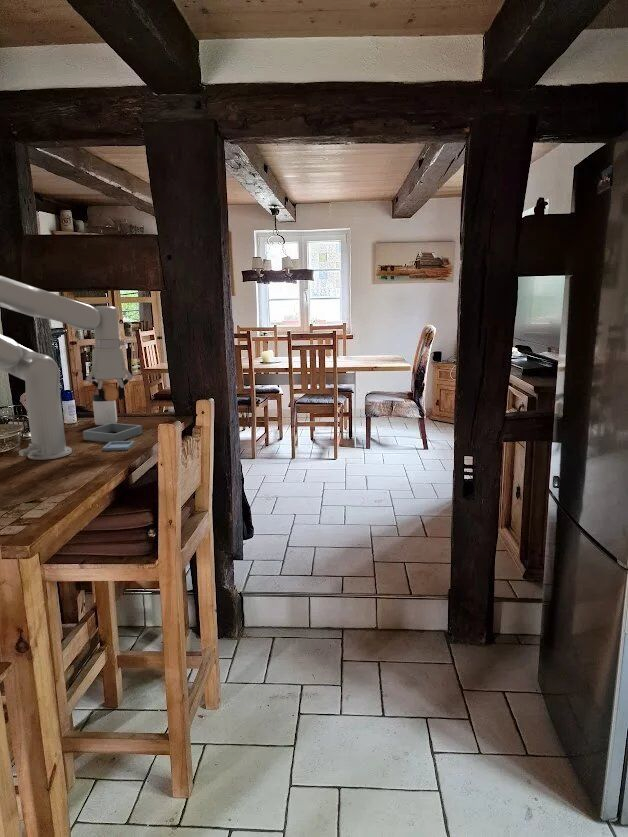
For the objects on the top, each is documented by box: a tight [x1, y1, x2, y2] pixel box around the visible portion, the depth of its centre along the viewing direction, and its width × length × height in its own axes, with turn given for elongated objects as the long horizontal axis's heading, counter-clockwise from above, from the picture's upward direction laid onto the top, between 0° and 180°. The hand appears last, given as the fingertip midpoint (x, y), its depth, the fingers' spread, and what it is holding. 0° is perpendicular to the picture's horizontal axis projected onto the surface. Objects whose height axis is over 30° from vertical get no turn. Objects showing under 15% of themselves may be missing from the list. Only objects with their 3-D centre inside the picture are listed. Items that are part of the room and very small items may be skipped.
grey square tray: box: [82, 422, 144, 443], centre depth 197 cm, size 14×14×3 cm
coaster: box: [102, 440, 136, 452], centre depth 183 cm, size 8×8×1 cm
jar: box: [91, 391, 118, 426], centre depth 218 cm, size 9×8×12 cm
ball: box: [103, 386, 119, 401], centre depth 185 cm, size 5×5×5 cm
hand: (111, 399), depth 185 cm, fingers closed on ball, 4 cm apart
